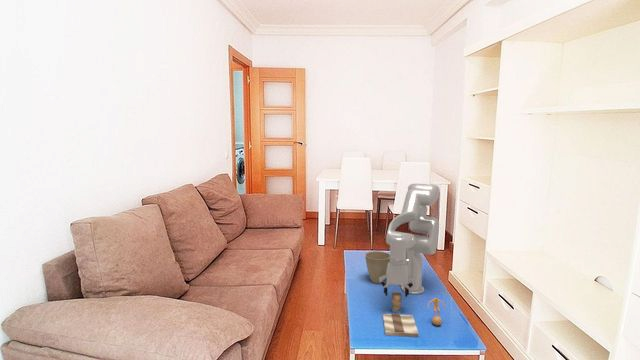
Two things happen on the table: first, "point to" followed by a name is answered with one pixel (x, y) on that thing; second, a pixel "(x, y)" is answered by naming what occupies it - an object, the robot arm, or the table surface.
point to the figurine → (435, 319)
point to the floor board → (400, 325)
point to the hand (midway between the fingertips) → (396, 295)
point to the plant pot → (377, 264)
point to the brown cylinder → (396, 302)
